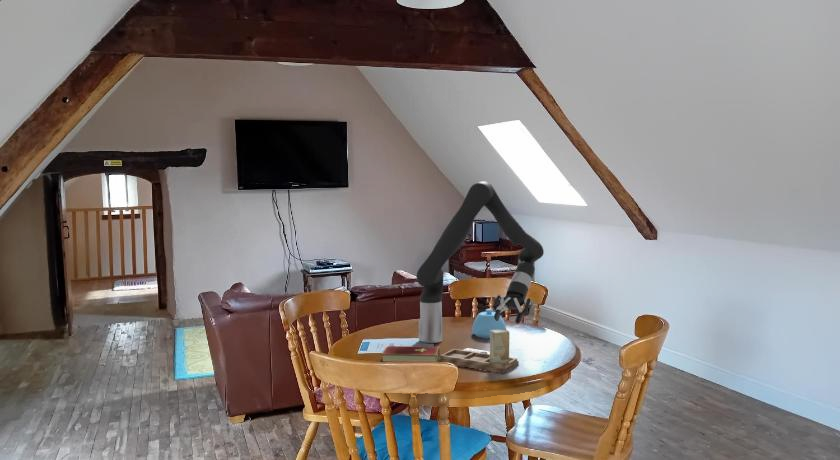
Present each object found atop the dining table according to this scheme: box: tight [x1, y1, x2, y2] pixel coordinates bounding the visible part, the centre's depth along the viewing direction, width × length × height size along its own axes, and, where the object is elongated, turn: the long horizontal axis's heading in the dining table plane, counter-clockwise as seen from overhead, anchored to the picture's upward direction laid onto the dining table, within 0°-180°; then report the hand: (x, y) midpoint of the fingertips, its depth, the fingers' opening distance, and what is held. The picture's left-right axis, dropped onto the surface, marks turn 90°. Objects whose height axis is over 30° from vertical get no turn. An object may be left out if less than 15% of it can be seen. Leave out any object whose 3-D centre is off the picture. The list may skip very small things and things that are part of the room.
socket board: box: [438, 348, 520, 375], centre depth 239 cm, size 27×13×3 cm, turn 57°
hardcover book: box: [381, 345, 441, 363], centre depth 248 cm, size 12×21×4 cm, turn 82°
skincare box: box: [489, 328, 510, 365], centre depth 234 cm, size 6×4×12 cm
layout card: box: [463, 347, 490, 354], centre depth 254 cm, size 12×7×1 cm, turn 57°
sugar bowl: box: [471, 308, 507, 339], centre depth 282 cm, size 15×15×12 cm
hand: (506, 321), depth 239 cm, fingers open, 8 cm apart
